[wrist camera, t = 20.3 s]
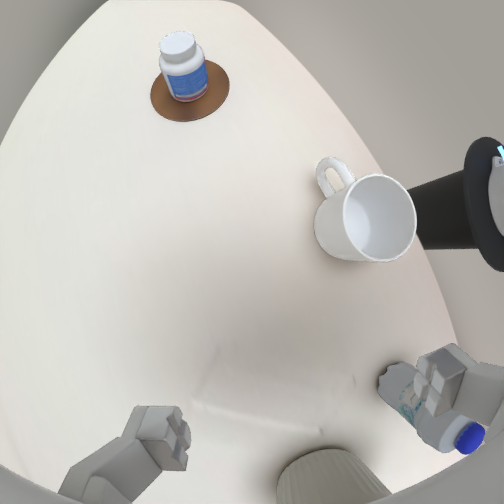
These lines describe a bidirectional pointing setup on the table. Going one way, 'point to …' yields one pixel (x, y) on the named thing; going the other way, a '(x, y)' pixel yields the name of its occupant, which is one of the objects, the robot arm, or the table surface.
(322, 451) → the canister
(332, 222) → the cup
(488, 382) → the robot arm
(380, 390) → the bottle
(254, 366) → the table surface
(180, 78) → the pill bottle
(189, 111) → the coaster
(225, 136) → the table surface
